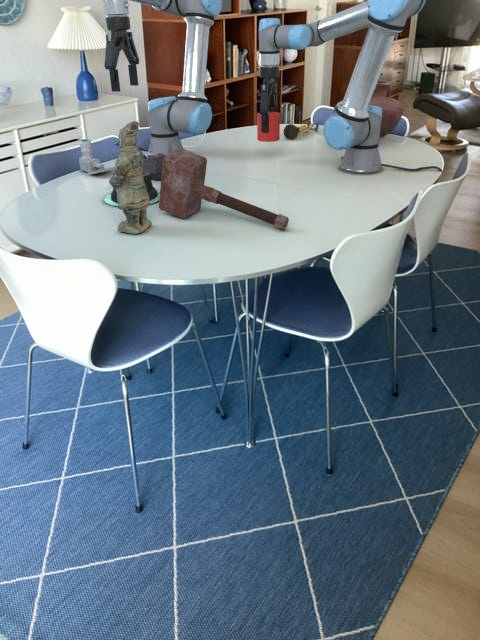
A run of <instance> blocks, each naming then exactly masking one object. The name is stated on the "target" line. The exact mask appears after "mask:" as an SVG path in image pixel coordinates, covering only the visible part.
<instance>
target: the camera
mask: <svg viewBox="0 0 480 640" xmlns="http://www.w3.org/2000/svg"><path fill="white" fill-rule="evenodd" d="M78 142H79V143H78V144H79V147H80V150H81V156H79V157H78V164H79V169H80V171H82V172H84V173H87V175H88V176H89V175H96V174H100V173H104V172H107V171H112V170H115V166H111V167H106V168H105V165H104V163H101V159H100V158H97V157H94V156H93V151H92V139H90V138H81V139H78Z"/></svg>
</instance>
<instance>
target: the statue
mask: <svg viewBox="0 0 480 640" xmlns="http://www.w3.org/2000/svg"><path fill="white" fill-rule="evenodd" d="M139 126H140V122H139V121H136V120H134V121H131V122H129V123H127V124H126V125H125V126H123V127H122V128H121V129H119V133H118V139H117V141H118V143H119V145H118V146H119V152H118V154H117V156H116V160H115V164H114V167H115V169H113V172H114V175H113V176H112V175H111V176H110V177H109V180H108V183H109V184H110V186H111V187H112V188H113V187H114V188H115V189H116V192H117V202H118V206H117V209H119V210H122V213H123V214H124V215H125V218H126V219H125V220H122V221H120V222H119V224H118V225H117V231H118V232H121V233H126V234H134V235H136V234H142V233H143V232H145V231H146V230H147V229H148V228H150V227H151V226H152V225H153V223H152V220H150V219H148V216H147V214H148V213H147V212H148V211H147V209H148V206H149V205H150V197H149V195H148V192H147V188H146V184H145V182H144V178H143V166H144V156H143V154H144V152H143V150H140V149H138V147H139V146H138V145H137V144H138V142H137V141H138V140H137V139H138V137H137V132H138V131H139V128H140V127H139ZM142 152H143V153H142Z"/></svg>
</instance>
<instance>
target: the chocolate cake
mask: <svg viewBox="0 0 480 640" xmlns="http://www.w3.org/2000/svg"><path fill="white" fill-rule="evenodd" d="M113 175H114V171H112V173H111V176H113ZM143 178H144V182H145V184H146V188H147V192H148V195H149V197H150V204H154V203H157V202H159V198H160V188H156V187H154V185H153V182H152V179H151V175H150V173H149V172H147V171H146V170H144V169H143ZM103 200H104V202H105V203H106V204H108V205H109V206H115V207H118V202H117V192H116V189H115V188H114V187H112V191H111V193H108V194H107V195H106V196H104V198H103ZM150 204H149V205H150Z"/></svg>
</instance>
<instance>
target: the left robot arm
mask: <svg viewBox="0 0 480 640" xmlns="http://www.w3.org/2000/svg"><path fill="white" fill-rule="evenodd" d="M128 1H129V2H134V3H138V4H142V5H147V6H151V7H152V8H153V9H154V10H156V11H158V12H163V13H166V14H169V15H173V16H176V17H183V21H184V22H185V24H186V34H185V35H186V36H185V38H186V39H185V50H184V64H183V76H182V77H183V79H182V90H181V92H180V93H179V94H178V95H177V97H176V96H165V97H157V98H154V99H151V100H149V101H148V103H147V113H148V123H149V131H150V141H149V145H148V148H143V147H141V146H140V147H139V146H137V147H138V149H139V150H141V151H142V152H143V151H144V152H147V156H148V155H155V156H156V155H157V154H158V153H163V154H164V155H167V154H170V153H172V152H174V151H177V150H179V149H184V150H186V148H185V147H184V146H183V144H182V141H181V138H180V135H179V133H184V134H191V135H201V134H204V133H206V132H207V130H208V129H209V128H210V126H211V123H212V120H213V111H212V106H211V105H210V104H209V103H208V98H207V97H206V94H205V87H206V76H207V63H208V62H207V61H208V51H209V38H210V28H211V27H212V26H213V25H214V24H215V18H216V17H218V16H219V15H220V13H221V12H222V8H223V1H222V0H102V3H103V11H104V16H105V20H104V21H105V27H106V31H110V34H109V33H107V34H105V53H104V64H103V65H104V68H105V70H108V73H109V80H110V87H111V89H110V90H111V92H113V93H114V92H115V93H116V92H117V93H118V92H120V93H121V84H120V83H121V82H120V77H119V70H118V69H119V68H118V69H117V66H118V62H119V57H120V52H121V51H123V53H124V56H125V58H126V60H127V61H128V64H127V68H128V77H129V86H130V87H131V86H134V87H135V86H136V87H138V86H139V78H138V77H139V76H138V68H137V65H140V58H139V54H138V51H137V48H136V44H135V41H134V38H133V31H129V30H131V19H130V17H129V16H128V15H129V14H130V12H129V7H130V4H129V2H128Z"/></svg>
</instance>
